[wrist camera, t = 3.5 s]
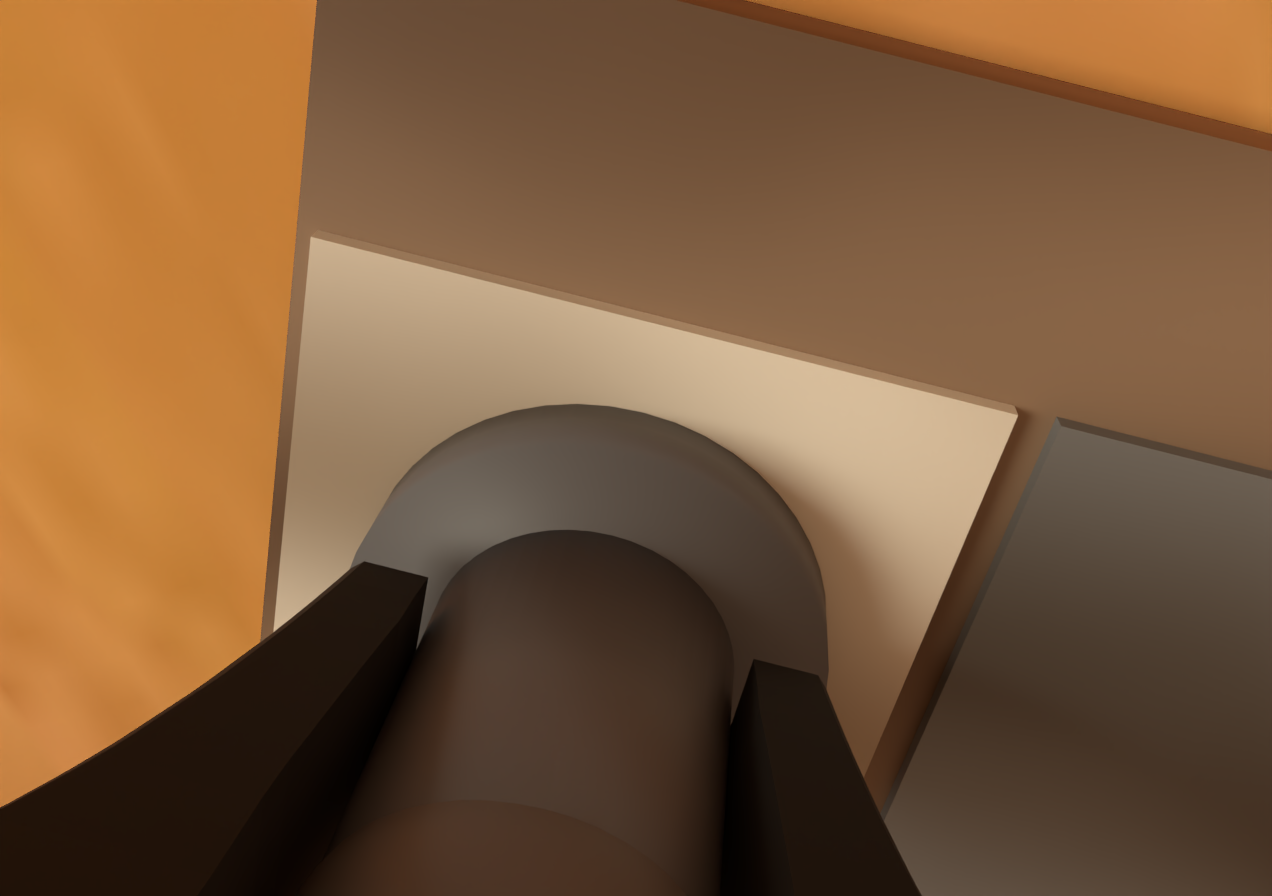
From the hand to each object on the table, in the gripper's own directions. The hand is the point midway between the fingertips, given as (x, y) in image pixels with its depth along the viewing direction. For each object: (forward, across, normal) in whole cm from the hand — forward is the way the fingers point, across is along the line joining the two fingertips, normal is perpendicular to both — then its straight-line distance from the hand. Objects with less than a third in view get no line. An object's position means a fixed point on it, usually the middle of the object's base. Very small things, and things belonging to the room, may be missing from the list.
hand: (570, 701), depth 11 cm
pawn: (+1, 0, 0) cm, 1 cm away
